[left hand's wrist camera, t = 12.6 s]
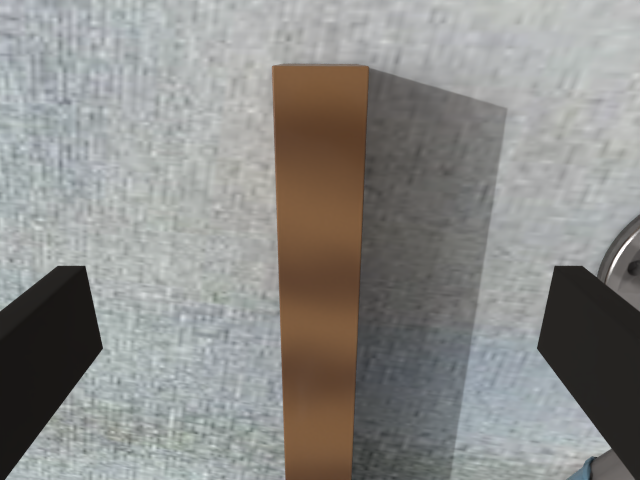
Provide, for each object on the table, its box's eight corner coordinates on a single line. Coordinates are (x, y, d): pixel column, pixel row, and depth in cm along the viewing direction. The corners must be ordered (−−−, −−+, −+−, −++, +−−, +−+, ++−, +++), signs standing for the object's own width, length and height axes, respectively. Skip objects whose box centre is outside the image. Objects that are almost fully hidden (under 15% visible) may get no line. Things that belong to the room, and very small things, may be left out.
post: (282, 63, 32) (271, 65, 25) (357, 64, 33) (369, 66, 25) (295, 609, 56) (292, 692, 49) (339, 609, 56) (342, 692, 49)
